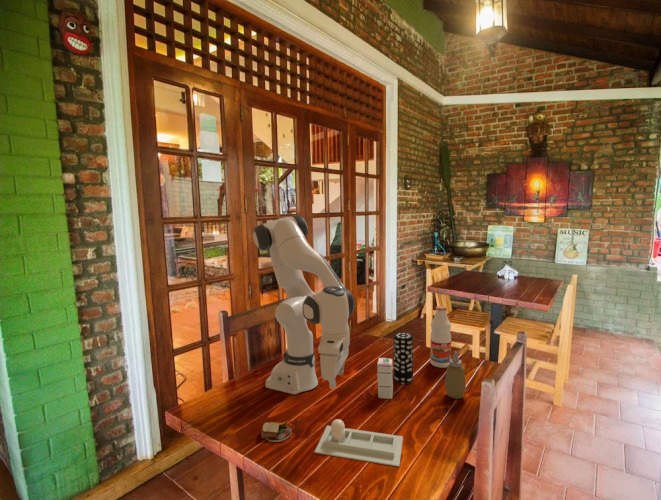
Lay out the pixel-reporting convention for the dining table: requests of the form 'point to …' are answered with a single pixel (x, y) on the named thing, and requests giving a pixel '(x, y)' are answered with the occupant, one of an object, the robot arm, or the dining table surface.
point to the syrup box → (385, 378)
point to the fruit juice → (440, 339)
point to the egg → (338, 431)
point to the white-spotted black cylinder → (403, 358)
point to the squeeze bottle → (455, 378)
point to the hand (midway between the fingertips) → (337, 380)
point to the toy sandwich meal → (275, 431)
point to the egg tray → (363, 446)
